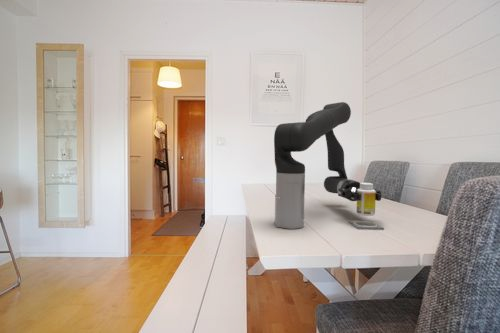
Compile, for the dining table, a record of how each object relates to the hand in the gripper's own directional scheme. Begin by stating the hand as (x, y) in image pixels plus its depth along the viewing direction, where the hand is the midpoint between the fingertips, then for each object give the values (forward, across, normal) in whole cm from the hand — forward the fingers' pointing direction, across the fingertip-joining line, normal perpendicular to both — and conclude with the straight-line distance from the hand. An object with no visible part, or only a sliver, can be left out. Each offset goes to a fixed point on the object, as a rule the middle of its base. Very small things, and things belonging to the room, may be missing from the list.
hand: (369, 197), depth 80 cm
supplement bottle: (-3, 0, +6) cm, 7 cm away
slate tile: (-2, 0, +10) cm, 10 cm away
